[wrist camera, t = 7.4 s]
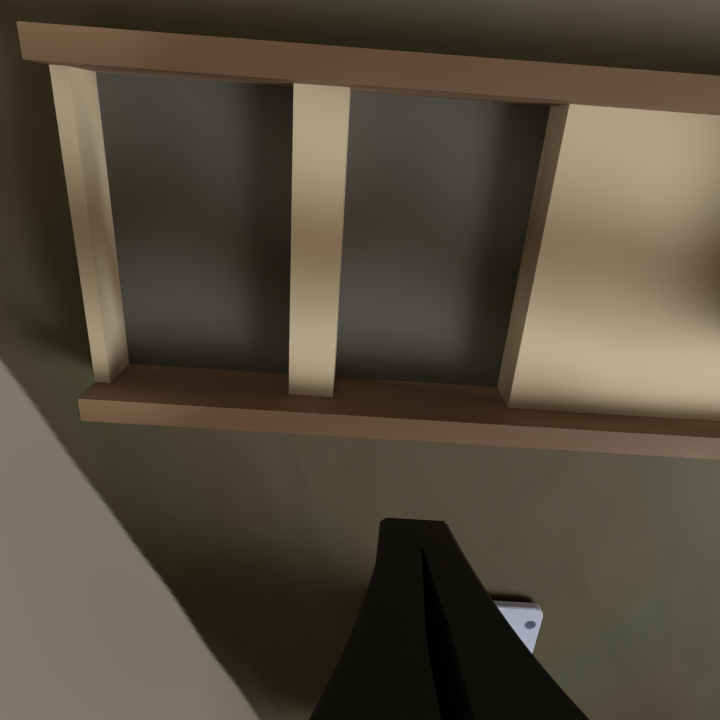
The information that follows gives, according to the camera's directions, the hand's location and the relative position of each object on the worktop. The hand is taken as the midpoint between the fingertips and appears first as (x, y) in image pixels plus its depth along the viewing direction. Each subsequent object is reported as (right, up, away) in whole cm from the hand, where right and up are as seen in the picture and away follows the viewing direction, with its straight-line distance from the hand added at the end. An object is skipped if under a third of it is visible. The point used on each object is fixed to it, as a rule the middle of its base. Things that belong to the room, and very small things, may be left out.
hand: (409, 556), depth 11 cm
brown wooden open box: (+5, +8, +7) cm, 12 cm away
